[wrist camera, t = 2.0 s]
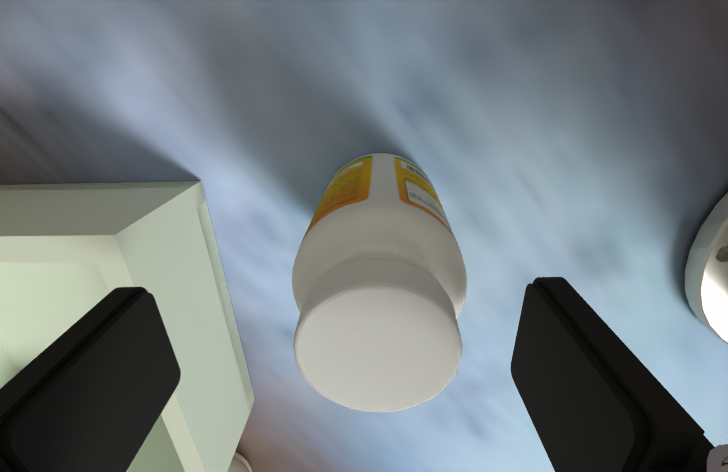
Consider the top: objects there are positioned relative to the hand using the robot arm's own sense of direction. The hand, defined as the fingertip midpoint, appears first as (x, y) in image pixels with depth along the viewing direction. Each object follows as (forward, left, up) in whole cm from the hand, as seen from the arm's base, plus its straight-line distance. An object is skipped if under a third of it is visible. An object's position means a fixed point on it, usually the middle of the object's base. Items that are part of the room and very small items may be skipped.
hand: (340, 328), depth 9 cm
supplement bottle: (-1, 0, -9) cm, 9 cm away
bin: (+15, +6, -9) cm, 18 cm away
